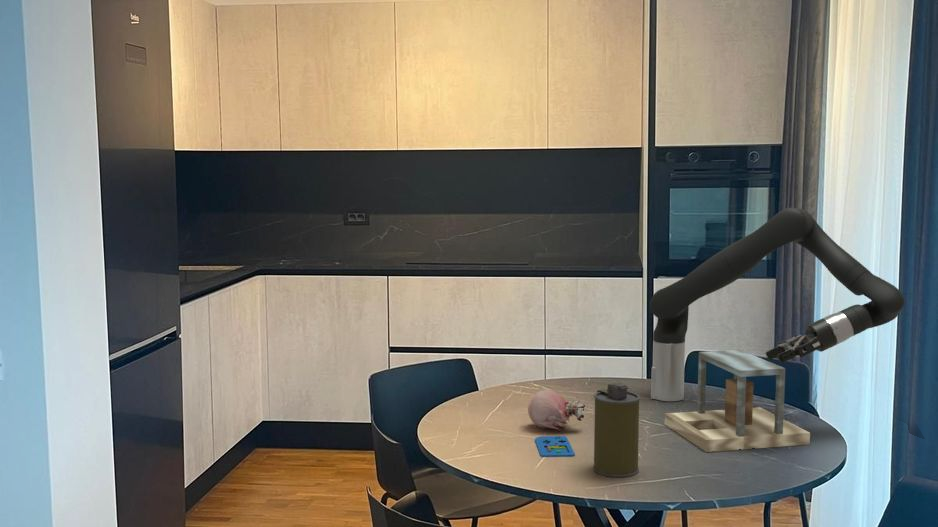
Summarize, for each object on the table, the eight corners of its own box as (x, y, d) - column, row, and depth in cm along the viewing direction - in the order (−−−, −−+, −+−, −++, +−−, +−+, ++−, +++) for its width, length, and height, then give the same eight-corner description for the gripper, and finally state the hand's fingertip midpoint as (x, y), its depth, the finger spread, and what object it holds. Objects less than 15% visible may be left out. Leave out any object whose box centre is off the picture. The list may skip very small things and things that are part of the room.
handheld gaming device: (566, 434, 236) (575, 453, 221) (566, 438, 236) (575, 458, 221) (533, 435, 235) (540, 454, 220) (533, 439, 235) (540, 458, 221)
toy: (588, 417, 249) (533, 410, 253) (588, 383, 245) (533, 377, 248) (581, 443, 239) (524, 435, 242) (581, 408, 234) (524, 401, 238)
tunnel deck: (705, 452, 224) (707, 373, 222) (664, 424, 247) (666, 352, 245) (809, 444, 230) (812, 367, 228) (759, 418, 253) (762, 348, 251)
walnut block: (734, 425, 235) (735, 383, 234) (724, 420, 240) (726, 379, 239) (752, 424, 236) (753, 382, 235) (742, 419, 241) (743, 378, 240)
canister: (648, 472, 210) (650, 386, 208) (613, 480, 204) (615, 392, 202) (616, 458, 219) (617, 376, 217) (582, 466, 213) (583, 382, 211)
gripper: (812, 316, 244) (757, 342, 243) (835, 319, 229) (776, 346, 229) (824, 342, 244) (769, 368, 243) (848, 346, 229) (789, 374, 229)
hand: (773, 357), depth 236 cm, fingers open, 8 cm apart
